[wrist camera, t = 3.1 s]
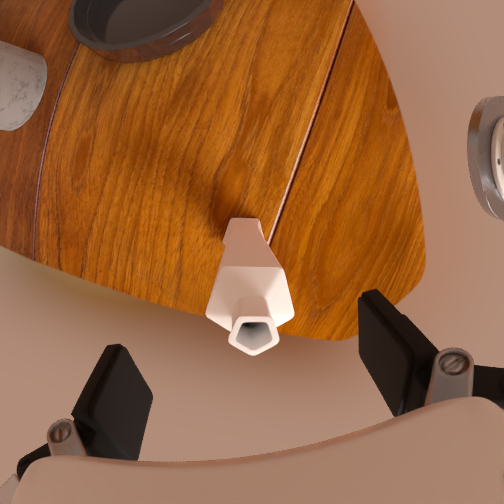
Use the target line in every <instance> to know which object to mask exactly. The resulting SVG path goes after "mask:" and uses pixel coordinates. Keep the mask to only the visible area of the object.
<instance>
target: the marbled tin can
mask: <svg viewBox="0 0 504 504" xmlns="http://www.w3.org/2000/svg"><path fill="white" fill-rule="evenodd" d="M46 81H47V65H46V62H45V59H44V58H43V57H42V55H40V54H38V53H33V52H31V51H28V50H26V49H23V48H20V47H18V46H15V45H12V44H9V43H6V42H3V41H0V130H6V131H9V130H15V129H17V128H19V127H20V126H22V125H23V124H24V123H25V122H26V121H27V120H28V119H29V118H30V117H31V116H32V114H33V113H34V111H35V110H36V108H37V106H38V104H39V102H40V100H41V98H42V95H43V93H44V89H45V86H46Z"/></svg>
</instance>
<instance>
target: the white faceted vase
mask: <svg viewBox="0 0 504 504" xmlns="http://www.w3.org/2000/svg"><path fill="white" fill-rule="evenodd" d="M223 244H224V245H225V246H226V247H225V250H224V253H223V257H222V260H221V263H220V266H219V270H218V273H217V276H216V279H215V283H214V286H213V289H212V293H211V296H210V299H209V303H208V306H207V309H206V316H207V317H208V318H209V319H211V320H212V321H214V322H216V323H218V324H219V325H221V326H222V327H224V328H225V329H227V330H229V331H230V332H231V333H230V335H229V338H228V341H229V343H230V344H231V345H233V346H235V347H236V348H238V349H240V350H242V351H243V352H245V353H247V354H249V355H257V354H259V353H261V352H263V351H265V350H267V349H269V348H270V347H272V346H274V345H276V344H277V343H278V341H279V335H278V332H277V328H276V327H278V326H279V325H281V324H283V323H285V322H286V321H288V320H290V319H291V318H293V316H294V309H293V305H292V301H291V297H290V293H289V289H288V285H287V281H286V277H285V273H284V270H283V269H282V267H281V265H280V264H279V262H278V260H277V259H276V257H275V255H274V254H273V252H272V251H271V249H270V247H269V246H268V244H267V242H266V241H265V239H264V236H263V232H262V228H261V225H260V221H259V220H258V219H256V218H231V219H230V221H229V224H228V227H227V230H226V232H225V235H224V238H223Z"/></svg>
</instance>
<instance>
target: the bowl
mask: <svg viewBox="0 0 504 504" xmlns="http://www.w3.org/2000/svg"><path fill="white" fill-rule="evenodd" d="M223 5H224V0H72V3H71V5H70V8H69V28H70V30H71V32H72V34H73V36H74V38H75V39H76V40H77V41H79V42H80V43H82V44H84V45H85V46H87V47H88V48H90V49H91V50H93V51H94V52H96V53H98V54H99V55H101V56H102V57H104V58H105V59H107V60H111V61H117V62H122V63H134V62H145V61H150V60H153V59H156V58H159V57H162V56H165V55H168V54H171V53H173V52H175V51H177V50H178V49H180V48H182V47H184V46H185V45H187V44H189V43H191V42H193V41H194V40H196V39H197V38H198V37H199V36H200V35H201V34H202V33H203V32H205V31H206V30H207V29H208V28H209V27H210V26H211V25H212V24H213V23H214V21H215V19H216V18H217V16H218V15H219V13H220V12H221V10H222V9H223Z"/></svg>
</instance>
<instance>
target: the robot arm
mask: <svg viewBox="0 0 504 504" xmlns="http://www.w3.org/2000/svg"><path fill="white" fill-rule="evenodd" d="M491 164H492V171H493V176H494V180H495V183H496V186H497V189H498V191H499V193H500V195H501V196H502V197H503V199H504V117H502V118H500V119H499V120H498V122H497V123H496V125H495V128H494V130H493V135H492V141H491ZM358 323H359V354H360V357H361V359H362V361H363V363H364V364H365V366H366V368H367V370H368V372H369V373H370V375H371V376H372V379H373V380H374V382H375V384H376V385H377V387H378V389H379V391H380V392H381V394H382V396H383V398H384V400H385V401H386V403H387V405H388V407H389V408H390V411H391V412H392V414H393V416H394V417H395V418H392V419H390V420H387V421H385V422H382V423H379V424H376V425H374V426H371V427H368V428H365V429H362V430H359V431H356V432H353V433H350V434H346V435H343V436H340V437H336V438H333V439H329V440H326V441H323V442H318V443H315V444H311V445H307V446H302V447H298V448H293V449H289V450H283V451H278V452H273V453H267V454H261V455H254V456H248V457H240V458H231V459H220V460H208V461H186V462H152V461H137V460H138V458H139V453H140V449H141V444H142V440H143V436H144V432H145V428H146V423H147V420H148V416H149V411H150V408H151V404H152V400H153V395H152V392H151V390H150V388H149V387H148V385H147V383H146V382H145V380H144V378H143V377H142V375H141V373H140V372H139V370H138V368H137V366H136V365H135V363H134V361H133V359H132V357H131V356H130V354H129V352H128V350H127V349H126V348H125V347H123V346H122V345H121V344H113V345H107V347H106V348H105V350H104V352H103V353H102V355H101V357H100V359H99V361H98V363H97V364H96V366H95V368H94V370H93V372H92V374H91V375H90V377H89V379H88V381H87V383H86V385H85V387H84V389H83V391H82V393H81V395H80V397H79V399H78V401H77V403H76V405H75V407H74V409H73V411H72V413H71V415H72V416H73V417H74V418H75V419H74V421H71V420H70V419H66V418H65V419H60V420H57V421H56V422H54V423H53V424H52V425H51V426H50V428H49V430H48V432H47V441H48V443H47V444H45V445H43V446H41V447H40V448H38V449H36V450H35V451H33V452H31V453H29V454H28V455H26V456H24V457H23V458H21V459H20V460H19V462H18V465H17V475H16V474H15V473H14V474H13V475H12V476H11V477H10V478H9V479H8V480H7V481H6V482H5V483H4V484H3V485H2V486H1V487H0V504H504V368H496V367H487V366H479V365H474V362H473V358H472V356H471V355H470V354H469V353H468V352H467V351H465V350H463V349H460V348H447V349H444V350H442V351H440V352H439V351H438V350H437V348H436V347H435V346H434V345H433V344H432V343H431V342H430V341H429V340H428V339H427V338H426V337H425V336H424V334H423V333H422V332H421V331H420V330H419V329H418V328H417V327H416V326H415V325H414V324H413V323H412V322H411V321H410V320H409V319H408V317H406V316H405V315H403V314H401V313H400V312H399V311H398V310H397V309H396V308H395V307H394V306H393V305H392V304H391V303H390V302H389V301H388V300H387V299H386V298H385V297H384V296H383V295H382V294H381V293H380V292H379V291H378V290H377V289H373V290H369V291H366V292H363V293H362V295H361V297H359V298H358Z"/></svg>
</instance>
